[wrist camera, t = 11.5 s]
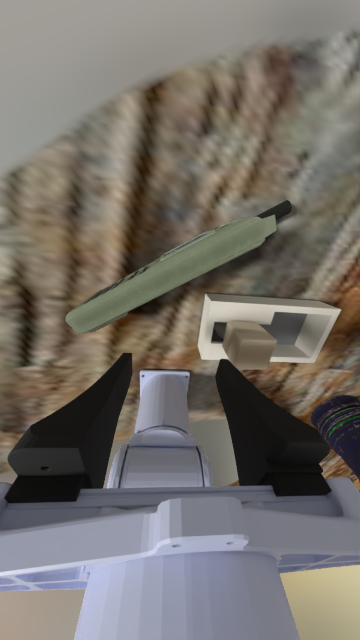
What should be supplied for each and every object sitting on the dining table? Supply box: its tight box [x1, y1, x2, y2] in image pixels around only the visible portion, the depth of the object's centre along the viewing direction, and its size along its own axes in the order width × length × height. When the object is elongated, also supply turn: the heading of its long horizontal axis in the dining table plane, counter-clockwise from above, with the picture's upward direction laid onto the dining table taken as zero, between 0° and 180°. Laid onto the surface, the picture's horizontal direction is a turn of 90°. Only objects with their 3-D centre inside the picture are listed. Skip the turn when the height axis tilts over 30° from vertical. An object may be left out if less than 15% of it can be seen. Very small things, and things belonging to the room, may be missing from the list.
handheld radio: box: [66, 200, 292, 334], centre depth 17 cm, size 7×3×25 cm
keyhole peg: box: [214, 321, 277, 369], centre depth 20 cm, size 4×4×8 cm
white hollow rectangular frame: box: [197, 293, 341, 363], centre depth 22 cm, size 16×8×4 cm, turn 85°
